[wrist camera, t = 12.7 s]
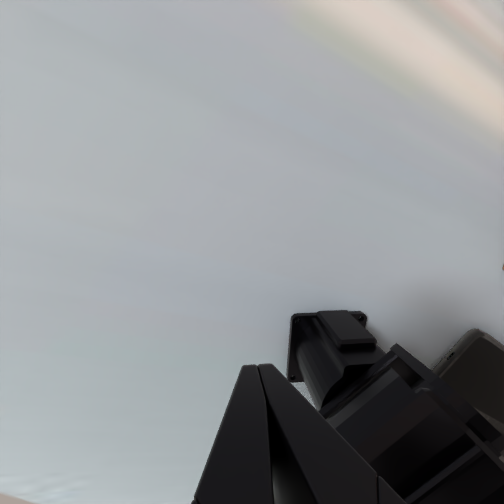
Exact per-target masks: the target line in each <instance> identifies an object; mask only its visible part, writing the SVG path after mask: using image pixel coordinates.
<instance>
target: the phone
mask: <svg viewBox="0 0 504 504" xmlns="http://www.w3.org/2000/svg"><path fill="white" fill-rule="evenodd" d="M463 340H464V341H463ZM452 352H454V353H455V354H454V355H453V356H452V357H451V358H450V359H449V360H447V358H448V357H449V355H450V354H451V353H452ZM432 372H433V373H435V374H436V375H437V376H438V377H440V378H441V379H442V380H443V381H445V382H446V383H447V384H448V385H449V386H450V387H451V388H453V389H454V390H455V391H456V392H457V393H458V394H459V395H461V396H462V397H463V398H464V399H465V400H466V401H467V402H468V403H469V404H470V405H471V406H473V407H474V408H475V409H476V410H477V411H478V412H479V413H480V414H481V415H482V416H483V417H484V418H485V419H486V420H487V421H488V422H490V423H491V424H492V425H493V426H494V427H495V428H496V429H497V430H498V431H499V432H500V433H501V434H502V435H503V436H504V345H502V344H501V343H500V342H498V341H497V340H496V339H494V338H493V337H492V336H490V335H489V334H487V333H485V332H483V331H481V330H479V329H472V330H470V331H468V332H467V333H466V334H465V335H464V336H463V337H462V338H461V339H460V340H459V341H458V342H457V344H456V345H455V346H454V347H453V348H452V349H451V350H450V351H449V353H448V354H447V355H446V356H445V357H444V358H443V359H442V360H441V361H440V363H439V364H438V365H437V366H436V367H435V368H434V369H433V370H432Z"/></svg>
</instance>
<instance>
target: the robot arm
mask: <svg viewBox="0 0 504 504" xmlns="http://www.w3.org/2000/svg"><path fill="white" fill-rule="evenodd" d="M360 316H361V318H360V319H358V318H359V317H360ZM296 319H299V321H297V322H295V320H296ZM366 320H367V317H366V315H365V314H364V313H363V312H361V311H352V312H348V311H346V310H339V311H319V312H317V313H297V314H294V315H293V316H292V317H291V322H290V335H289V348H288V361H287V373H286V375H287V379H288V380H287V379H286V378H285V377H284V376H283V375H282V373H281V372H280V371H279V370H278V369H277V368H276V367H275V366H274V365H273V364H270V363H269V364H259V365H258V366H257V365H255V364H253V365H243V366H242V368H241V370H240V373H239V376H238V379H237V381H236V384H235V387H234V389H233V392H232V395H231V397H230V400H229V403H228V406H227V408H226V411H225V414H224V416H223V419H222V422H221V425H220V427H219V430H218V433H217V435H216V438H215V441H214V444H213V446H212V449H211V452H210V454H209V457H208V460H207V462H206V465H205V468H204V471H203V473H202V476H201V479H200V481H199V484H198V487H197V490H196V492H195V495H194V500H193V501H192V502H191V504H504V436H503V435H502V434H501V433H500V432H499V431H498V430H497V429H496V428H495V427H494V426H493V425H492V424H491V423H490V422H488V421H487V420H486V419H485V418H484V417H483V416H482V415H481V414H480V413H479V412H478V411H477V410H476V409H475V408H474V407H473V406H471V405H470V404H469V403H468V402H467V401H466V400H465V399H464V398H463V397H462V396H461V395H459V394H458V393H457V392H456V391H455V390H454V389H453V388H451V387H450V386H449V385H448V384H447V383H446V382H445V381H443V380H442V379H441V378H440V377H438V376H437V375H436V374H435V373H433V372H432V371H431V370H430V369H428V368H427V367H426V366H425V365H423V364H422V363H421V362H420V361H418V360H417V359H416V358H415V357H413V356H412V355H411V354H410V353H408V352H407V351H406V350H405V349H403V348H402V347H401V346H400V345H398V344H397V343H396V344H395V345H393V346H392V347H391V348H390V349H391V350H390V351H389V352H388V353H387V354H386V353H385V352H384V351H383V350H382V349H381V348H380V347H379V346H378V345H377V340H376V339H375V338H374V337H373V336H372V335H371V334H370V333H369V332H368V331H367V330H366V329H365V326H366ZM293 375H294V376H293ZM291 376H293V377H291ZM290 382H292V383H293V382H305V384H306V386H307V388H308V391H309V393H310V395H311V398H312V400H313V402H314V405H315V407H316V409H317V410H316V409H315V408H314V407H313V406H312V405H311V404H310V403H309V402H308V401H307V399H306V398H305V397H304V396H303V395H302V394H301V393H300V392H299V391H298V390H297V389H296V388H295V387H294V386H293V385H292V384H291V383H290Z"/></svg>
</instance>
